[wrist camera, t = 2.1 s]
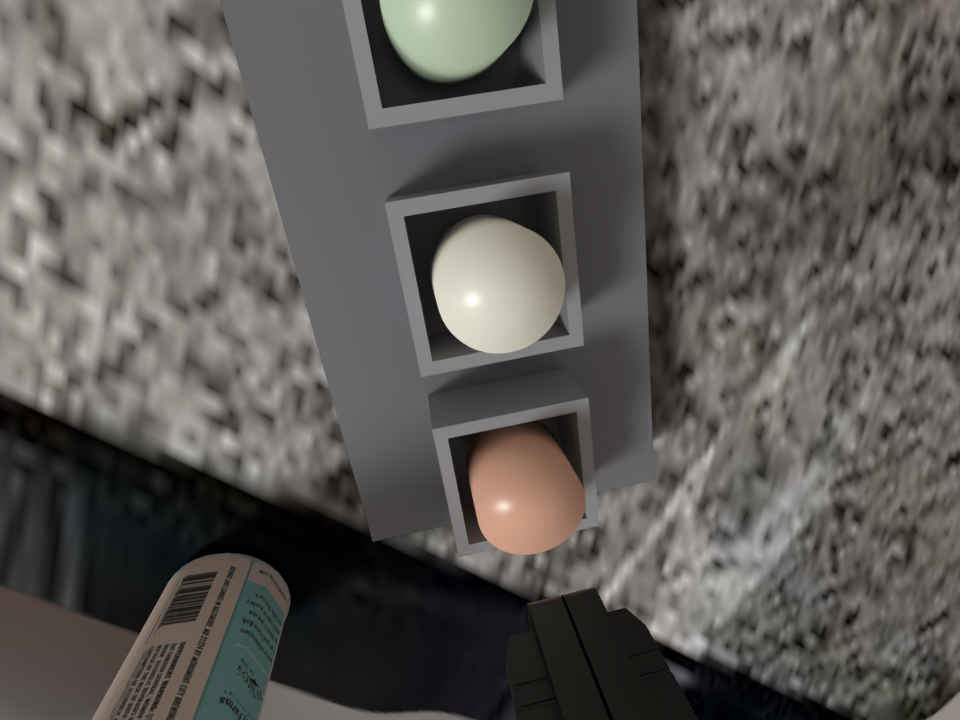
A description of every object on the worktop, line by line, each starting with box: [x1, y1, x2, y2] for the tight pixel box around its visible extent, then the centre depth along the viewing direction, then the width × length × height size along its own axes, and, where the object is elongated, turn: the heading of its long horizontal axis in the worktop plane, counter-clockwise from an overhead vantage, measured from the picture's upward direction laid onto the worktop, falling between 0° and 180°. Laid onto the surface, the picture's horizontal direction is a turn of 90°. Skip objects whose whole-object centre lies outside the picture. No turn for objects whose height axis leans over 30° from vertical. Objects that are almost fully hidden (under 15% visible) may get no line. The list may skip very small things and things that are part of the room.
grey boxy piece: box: [220, 0, 654, 557], centre depth 16 cm, size 11×19×4 cm, turn 9°
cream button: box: [430, 214, 565, 354], centre depth 14 cm, size 3×3×3 cm
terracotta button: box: [466, 420, 586, 555], centre depth 16 cm, size 3×3×3 cm
